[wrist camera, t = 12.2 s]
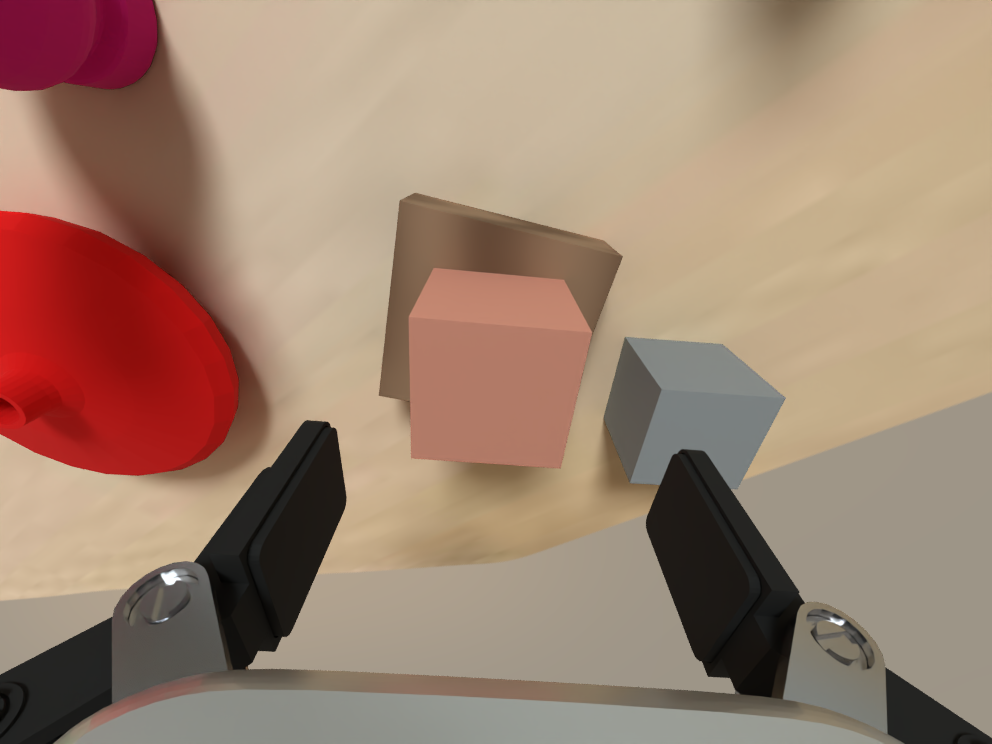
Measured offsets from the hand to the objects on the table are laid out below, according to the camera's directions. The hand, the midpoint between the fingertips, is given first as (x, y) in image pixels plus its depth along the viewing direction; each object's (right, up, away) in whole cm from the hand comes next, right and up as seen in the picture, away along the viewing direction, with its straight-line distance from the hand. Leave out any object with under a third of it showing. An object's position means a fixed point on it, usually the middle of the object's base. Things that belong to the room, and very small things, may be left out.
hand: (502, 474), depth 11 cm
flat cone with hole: (-23, +5, +13) cm, 26 cm away
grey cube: (+10, +2, +14) cm, 18 cm away
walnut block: (-1, +7, +12) cm, 14 cm away
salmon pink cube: (0, +5, +8) cm, 10 cm away
